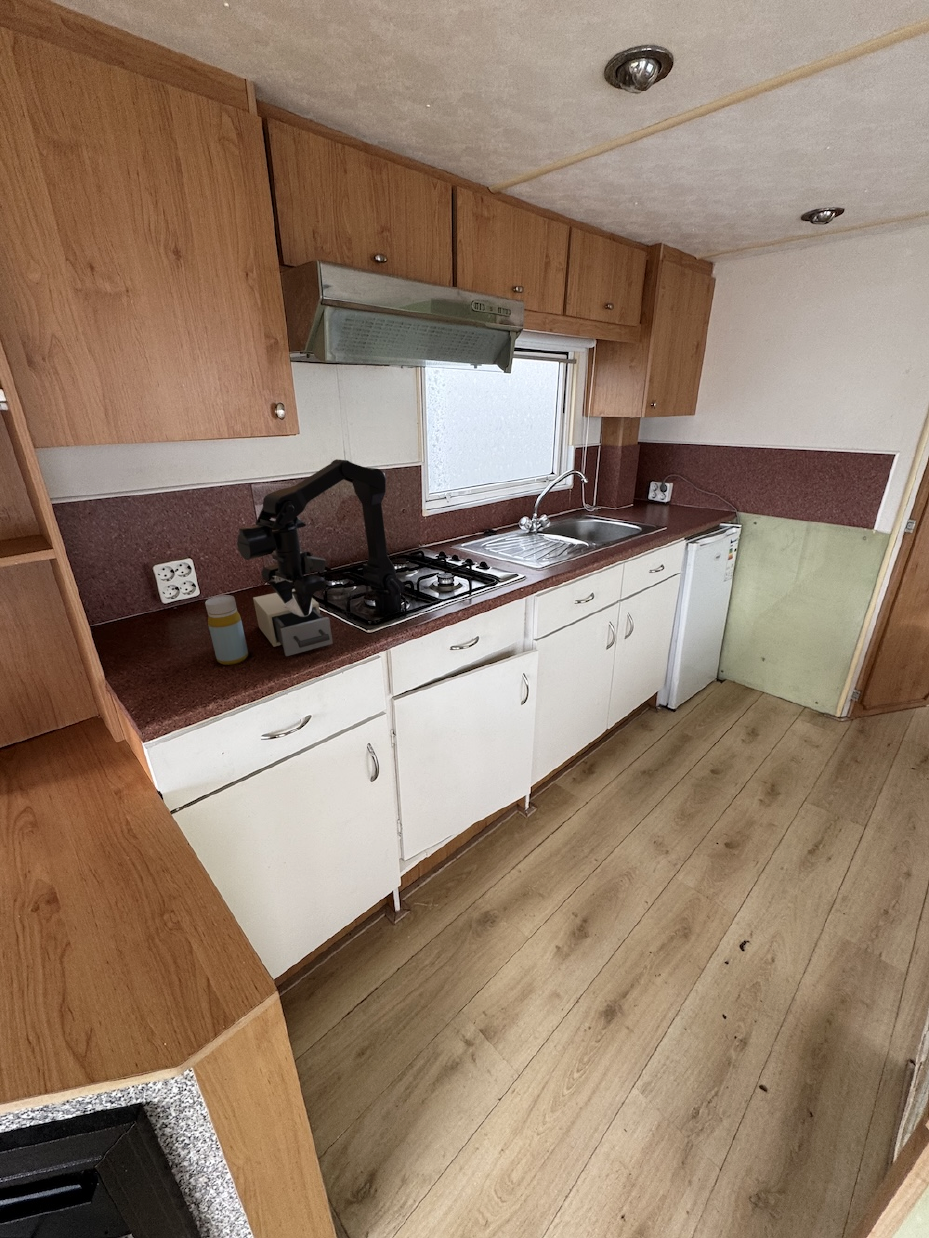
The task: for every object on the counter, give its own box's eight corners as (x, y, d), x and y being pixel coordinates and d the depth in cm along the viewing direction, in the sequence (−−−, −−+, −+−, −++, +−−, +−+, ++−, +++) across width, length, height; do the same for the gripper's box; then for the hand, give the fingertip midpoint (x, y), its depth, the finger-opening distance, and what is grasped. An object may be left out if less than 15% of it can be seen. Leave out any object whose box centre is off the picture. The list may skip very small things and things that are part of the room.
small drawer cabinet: (323, 634, 139) (318, 603, 135) (273, 647, 132) (267, 615, 129) (305, 616, 150) (300, 587, 146) (258, 627, 144) (252, 597, 140)
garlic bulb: (292, 610, 133) (288, 589, 131) (314, 611, 132) (311, 590, 129) (281, 619, 128) (277, 597, 126) (303, 620, 127) (300, 599, 124)
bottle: (238, 666, 123) (224, 606, 117) (211, 664, 125) (196, 605, 119) (254, 653, 129) (242, 595, 124) (228, 651, 131) (215, 593, 125)
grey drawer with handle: (340, 651, 127) (337, 625, 124) (293, 665, 121) (288, 638, 119) (314, 625, 141) (310, 601, 139) (270, 636, 136) (266, 612, 133)
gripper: (341, 547, 122) (349, 610, 129) (296, 535, 134) (306, 593, 140) (298, 559, 115) (309, 625, 121) (255, 545, 127) (267, 606, 133)
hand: (298, 611), depth 129 cm, fingers closed on garlic bulb, 6 cm apart
